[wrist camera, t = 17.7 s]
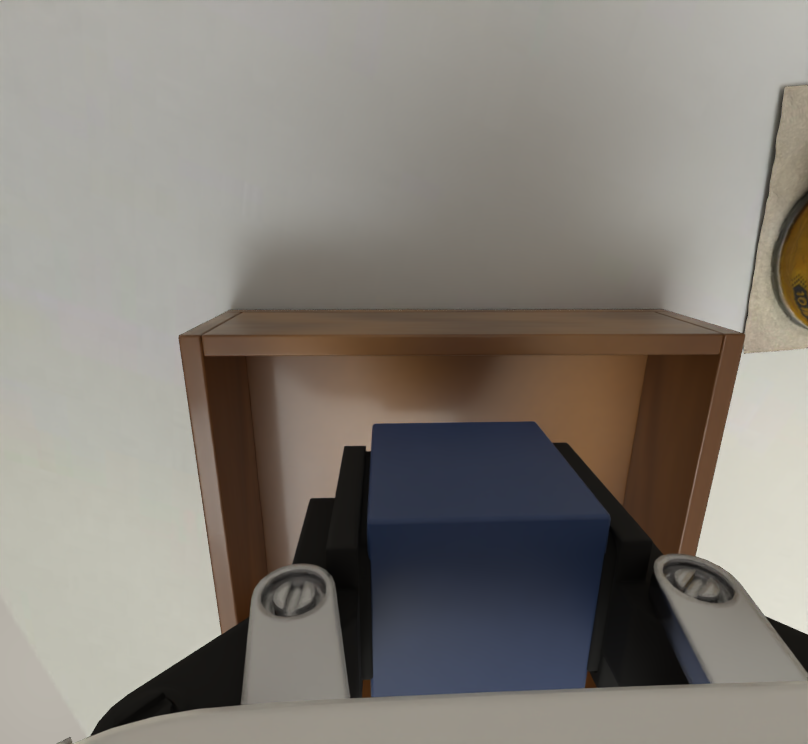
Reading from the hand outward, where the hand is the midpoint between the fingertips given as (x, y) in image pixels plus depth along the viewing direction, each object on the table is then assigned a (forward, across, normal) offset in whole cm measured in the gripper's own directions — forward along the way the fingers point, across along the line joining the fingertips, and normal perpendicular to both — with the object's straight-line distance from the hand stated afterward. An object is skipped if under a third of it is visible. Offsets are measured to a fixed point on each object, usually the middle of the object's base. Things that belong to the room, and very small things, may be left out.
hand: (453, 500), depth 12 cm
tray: (+6, -1, +3) cm, 7 cm away
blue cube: (0, 0, 0) cm, 0 cm away
